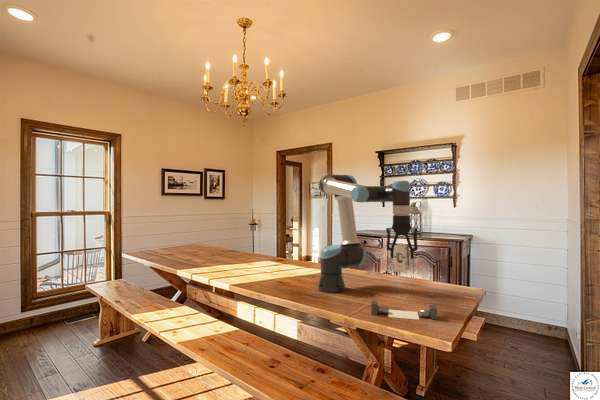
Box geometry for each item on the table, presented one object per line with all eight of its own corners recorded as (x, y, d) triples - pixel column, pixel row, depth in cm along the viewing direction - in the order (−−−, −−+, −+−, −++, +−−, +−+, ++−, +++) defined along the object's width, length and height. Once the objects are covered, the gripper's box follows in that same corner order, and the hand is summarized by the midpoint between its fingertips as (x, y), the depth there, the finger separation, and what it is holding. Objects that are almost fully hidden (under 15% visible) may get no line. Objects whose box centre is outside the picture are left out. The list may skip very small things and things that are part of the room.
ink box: (398, 268, 148) (398, 243, 148) (409, 269, 146) (409, 243, 146) (394, 271, 141) (393, 245, 141) (405, 272, 138) (405, 246, 138)
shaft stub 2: (420, 318, 130) (420, 307, 130) (419, 314, 134) (419, 303, 134) (437, 320, 128) (437, 309, 128) (435, 315, 133) (435, 305, 133)
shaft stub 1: (371, 314, 135) (371, 304, 135) (372, 310, 140) (372, 300, 140) (387, 315, 133) (387, 305, 133) (387, 311, 138) (387, 301, 138)
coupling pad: (388, 317, 131) (388, 316, 131) (388, 310, 140) (388, 309, 140) (419, 320, 128) (419, 319, 128) (417, 312, 136) (417, 311, 136)
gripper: (379, 215, 142) (380, 266, 142) (424, 215, 137) (425, 268, 137) (380, 214, 150) (380, 263, 150) (422, 214, 144) (423, 265, 145)
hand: (401, 265), depth 143 cm, fingers closed on ink box, 6 cm apart
